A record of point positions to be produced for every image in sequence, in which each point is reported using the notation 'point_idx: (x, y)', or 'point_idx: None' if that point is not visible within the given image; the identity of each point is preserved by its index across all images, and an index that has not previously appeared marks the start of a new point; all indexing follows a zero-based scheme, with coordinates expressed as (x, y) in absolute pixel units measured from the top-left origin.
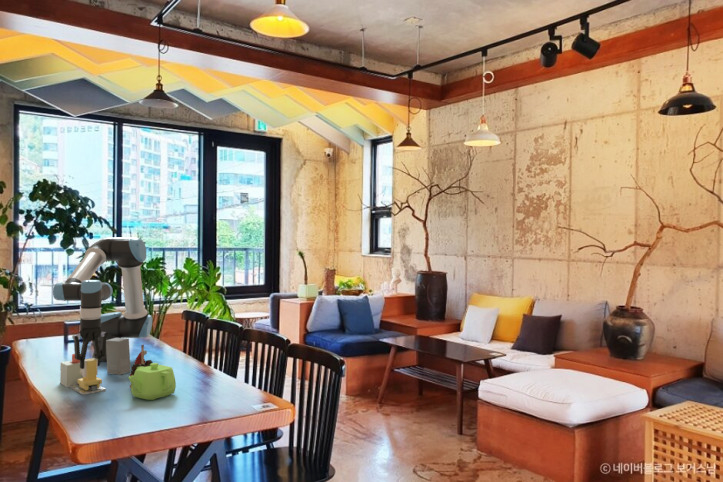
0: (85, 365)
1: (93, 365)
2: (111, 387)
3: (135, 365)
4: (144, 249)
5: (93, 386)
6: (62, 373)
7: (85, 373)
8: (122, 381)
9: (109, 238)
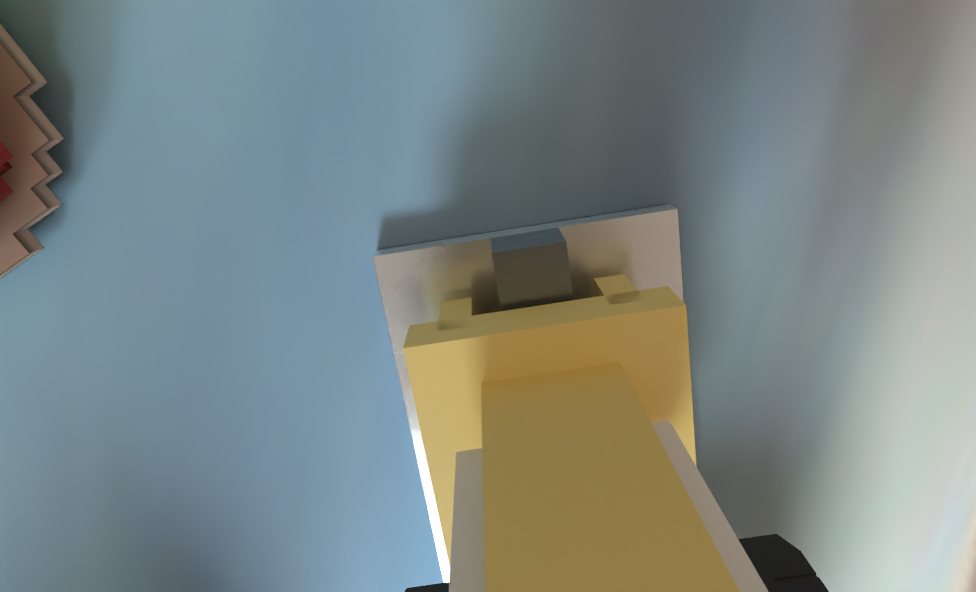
0: (736, 565)
1: (558, 532)
2: (289, 367)
3: None
4: None
5: (543, 247)
6: None
7: (675, 454)
8: (134, 556)
9: None
